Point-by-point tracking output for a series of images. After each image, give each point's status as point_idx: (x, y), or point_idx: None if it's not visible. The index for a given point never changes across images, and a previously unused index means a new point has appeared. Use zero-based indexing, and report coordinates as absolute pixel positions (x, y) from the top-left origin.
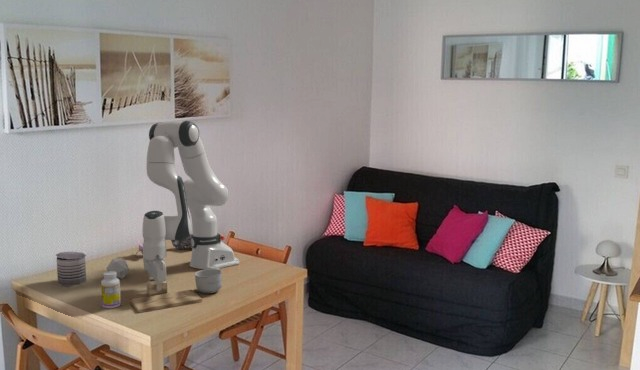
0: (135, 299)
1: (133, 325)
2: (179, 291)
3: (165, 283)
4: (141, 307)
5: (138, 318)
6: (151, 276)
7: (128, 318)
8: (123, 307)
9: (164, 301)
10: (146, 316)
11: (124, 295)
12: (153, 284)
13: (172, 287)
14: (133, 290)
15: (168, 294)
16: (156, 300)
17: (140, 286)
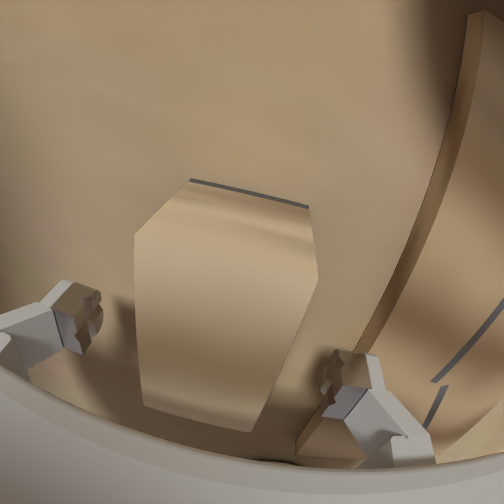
0: (316, 446)
1: (483, 453)
2: (461, 143)
3: (309, 294)
4: (435, 447)
5: (468, 444)
6: (33, 343)
7: (436, 461)
8: (329, 461)
9: (498, 362)
10: (485, 427)
11: (160, 413)
12: (260, 412)
13: (162, 66)
14: (92, 352)
15: (440, 285)
16: (444, 391)
17: (32, 286)
